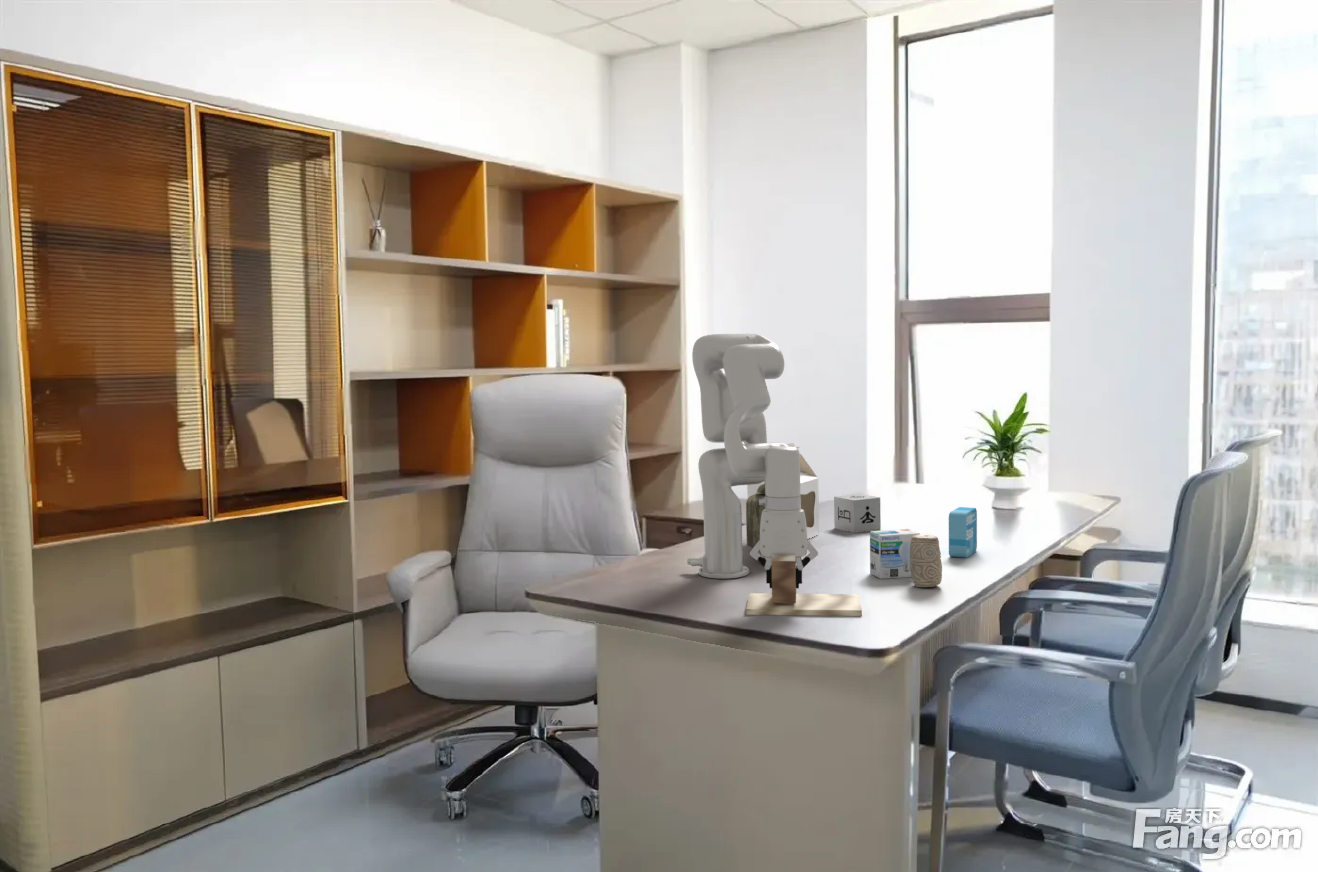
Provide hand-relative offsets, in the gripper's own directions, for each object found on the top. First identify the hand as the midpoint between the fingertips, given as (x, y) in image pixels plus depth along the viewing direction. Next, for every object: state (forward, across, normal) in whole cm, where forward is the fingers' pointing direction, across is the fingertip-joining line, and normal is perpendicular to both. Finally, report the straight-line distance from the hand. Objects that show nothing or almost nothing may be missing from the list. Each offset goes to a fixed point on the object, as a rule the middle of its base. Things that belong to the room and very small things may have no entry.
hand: (784, 586), depth 215 cm
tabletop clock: (+5, -6, +49) cm, 49 cm away
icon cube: (+5, +20, +96) cm, 99 cm away
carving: (+5, +32, +20) cm, 38 cm away
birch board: (+5, +4, 0) cm, 6 cm away
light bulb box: (+5, +26, +32) cm, 42 cm away
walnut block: (+3, 0, 0) cm, 3 cm away
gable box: (+5, -2, +79) cm, 79 cm away
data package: (+5, +46, +58) cm, 74 cm away
